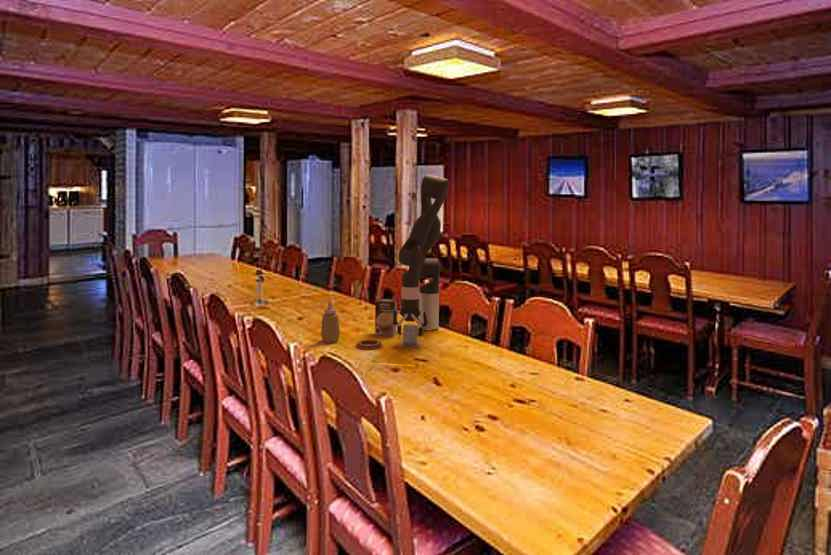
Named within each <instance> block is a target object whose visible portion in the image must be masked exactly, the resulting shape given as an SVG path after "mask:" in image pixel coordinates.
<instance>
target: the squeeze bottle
mask: <svg viewBox="0 0 831 555" xmlns="http://www.w3.org/2000/svg"><path fill="white" fill-rule="evenodd" d="M332 302H333V301H332V300H328V302H327V306H326V308H325V309H324V314H323V315H322V318H321V326H320V327H321V330H320V336H321V338H322V339H321V340H322V342H323V343H324V344H334V343H335V344H336V343H338V341H339V338H340V335H341V330H340V320H339V315H338V314H337V309H336V308H334V307H333V303H332Z"/></svg>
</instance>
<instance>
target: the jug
mask: <svg viewBox="0 0 831 555" xmlns="http://www.w3.org/2000/svg"><path fill="white" fill-rule="evenodd" d="M418 330H419V325H418V324H415V323H413V324H412V323H411V324H410V323H407V324H406V323H405V324H404V325H403V334H402V335H403V336H402V338H403V340H402V342H403V345H405V346H416V345H417V343H418Z"/></svg>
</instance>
